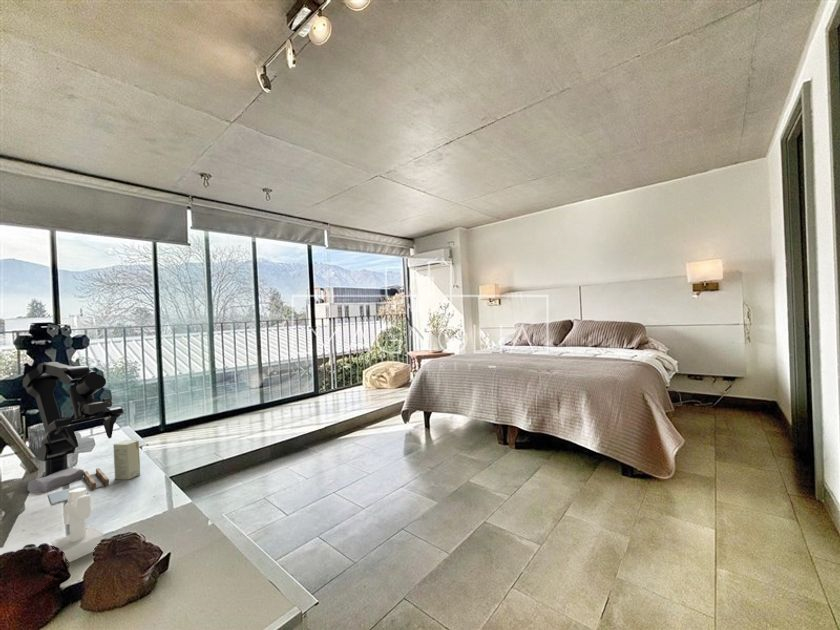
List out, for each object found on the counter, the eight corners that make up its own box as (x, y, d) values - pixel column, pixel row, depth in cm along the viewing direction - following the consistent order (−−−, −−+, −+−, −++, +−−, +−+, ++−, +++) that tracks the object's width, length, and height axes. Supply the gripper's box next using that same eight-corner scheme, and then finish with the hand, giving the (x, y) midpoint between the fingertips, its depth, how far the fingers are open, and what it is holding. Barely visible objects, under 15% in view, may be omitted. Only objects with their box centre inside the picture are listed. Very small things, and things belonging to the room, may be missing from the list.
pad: (48, 495, 112) (48, 494, 112) (82, 485, 118) (82, 484, 118) (52, 505, 105) (52, 503, 105) (88, 494, 112) (88, 492, 112)
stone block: (23, 497, 115) (46, 493, 113) (21, 482, 116) (44, 478, 114) (66, 482, 127) (87, 478, 125) (64, 468, 127) (85, 464, 126)
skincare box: (140, 474, 126) (140, 440, 126) (128, 480, 121) (128, 444, 122) (125, 473, 127) (125, 439, 127) (113, 479, 122) (112, 444, 123)
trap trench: (83, 477, 125) (83, 471, 125) (99, 473, 128) (98, 467, 128) (92, 489, 115) (92, 483, 115) (108, 485, 118) (108, 479, 118)
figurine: (89, 539, 87) (88, 479, 88) (106, 550, 83) (105, 486, 83) (48, 557, 81) (47, 492, 81) (64, 570, 76) (63, 501, 77)
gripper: (58, 397, 111) (70, 444, 109) (126, 386, 129) (137, 426, 126) (42, 409, 115) (53, 455, 112) (110, 397, 132) (121, 436, 130)
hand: (94, 442), depth 120 cm, fingers open, 9 cm apart
